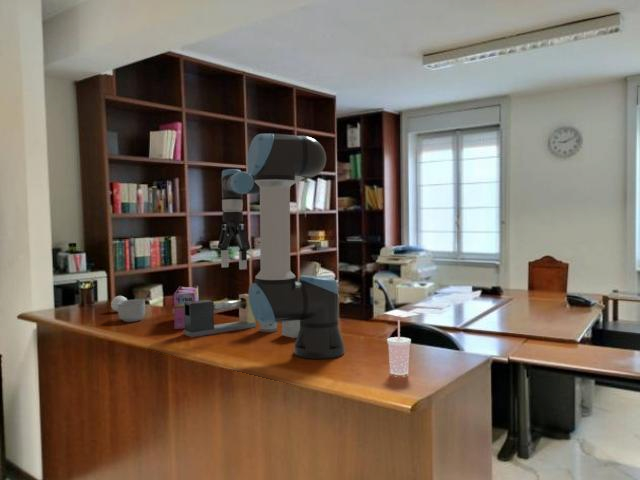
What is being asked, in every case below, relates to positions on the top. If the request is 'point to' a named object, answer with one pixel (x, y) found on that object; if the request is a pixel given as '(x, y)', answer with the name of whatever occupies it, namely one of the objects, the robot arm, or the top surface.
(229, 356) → the top surface
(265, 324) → the travel mug
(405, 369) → the beverage cup
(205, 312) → the sleeve and socket
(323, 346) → the robot arm
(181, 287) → the gum box
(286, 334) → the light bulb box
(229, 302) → the slip tube
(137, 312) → the teacup
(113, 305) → the white ovoid
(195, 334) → the base board
